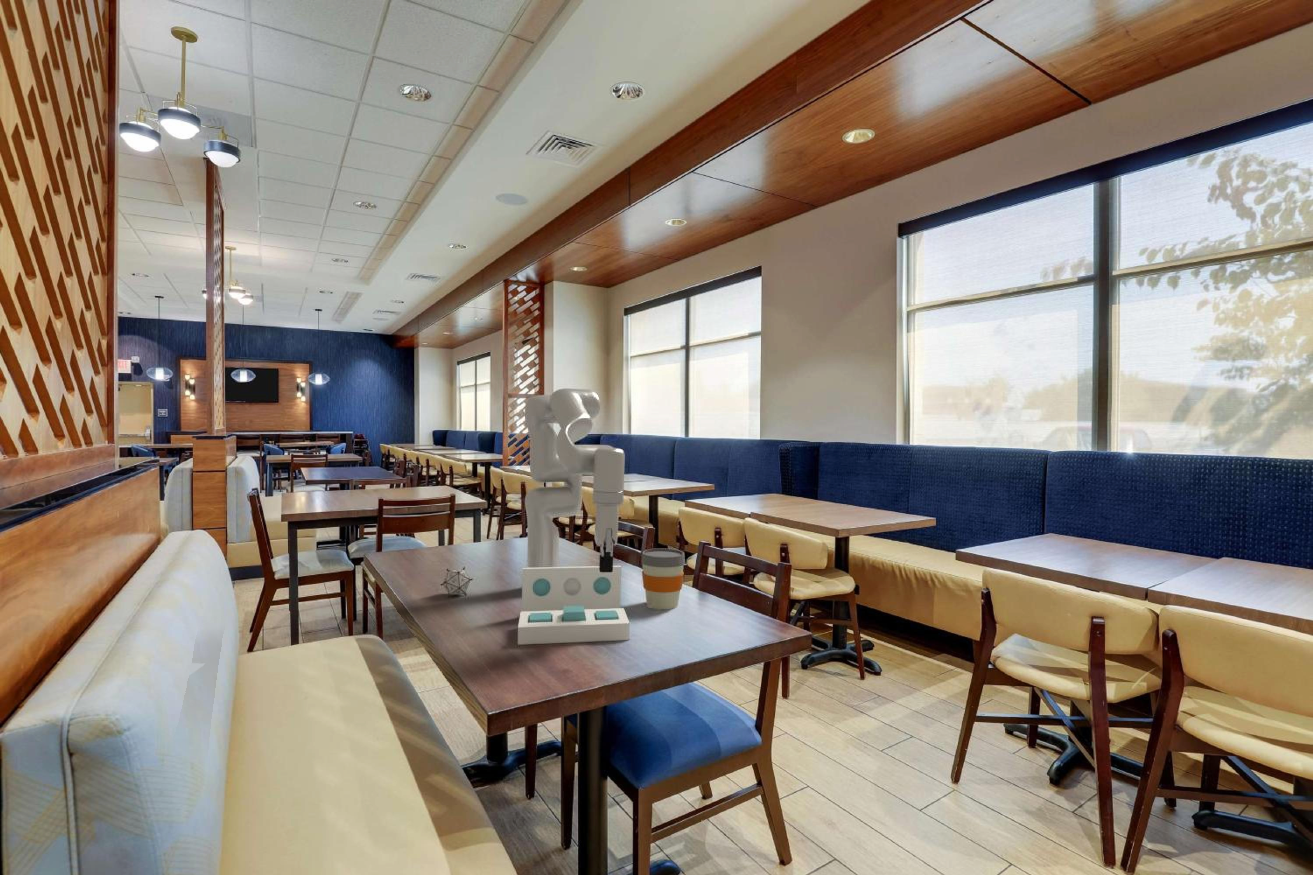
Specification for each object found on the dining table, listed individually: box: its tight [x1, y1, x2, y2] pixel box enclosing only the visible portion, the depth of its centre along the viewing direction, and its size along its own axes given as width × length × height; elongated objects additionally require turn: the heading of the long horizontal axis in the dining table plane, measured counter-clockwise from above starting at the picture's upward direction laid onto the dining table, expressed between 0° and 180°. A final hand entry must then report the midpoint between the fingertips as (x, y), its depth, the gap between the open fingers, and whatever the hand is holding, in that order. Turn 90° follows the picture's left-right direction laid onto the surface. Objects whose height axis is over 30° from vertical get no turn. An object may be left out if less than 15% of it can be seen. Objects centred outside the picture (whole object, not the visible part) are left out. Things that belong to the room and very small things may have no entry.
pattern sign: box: [521, 565, 622, 612], centre depth 162 cm, size 6×26×13 cm, turn 100°
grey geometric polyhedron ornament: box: [440, 566, 474, 598], centre depth 179 cm, size 9×8×10 cm
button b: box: [563, 606, 585, 621], centre depth 148 cm, size 5×5×3 cm
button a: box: [530, 613, 551, 623], centre depth 147 cm, size 5×5×3 cm
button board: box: [517, 607, 631, 646], centre depth 148 cm, size 12×26×4 cm, turn 100°
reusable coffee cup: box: [640, 548, 686, 610], centre depth 173 cm, size 13×12×15 cm
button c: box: [595, 610, 618, 620], centre depth 150 cm, size 5×5×3 cm
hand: (605, 571), depth 150 cm, fingers closed
